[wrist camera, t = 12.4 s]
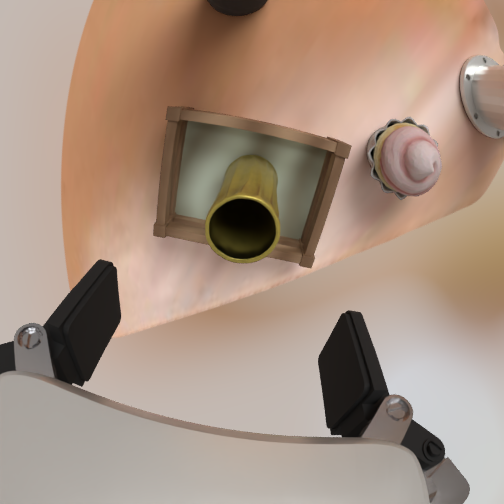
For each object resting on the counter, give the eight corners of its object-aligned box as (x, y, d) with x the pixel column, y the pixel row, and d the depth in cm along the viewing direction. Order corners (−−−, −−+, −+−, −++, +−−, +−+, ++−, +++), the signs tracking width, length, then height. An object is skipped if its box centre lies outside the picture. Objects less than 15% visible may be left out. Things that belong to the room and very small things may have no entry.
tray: (338, 140, 30) (351, 145, 25) (305, 247, 36) (311, 268, 32) (182, 106, 28) (167, 106, 24) (167, 218, 35) (153, 235, 31)
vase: (214, 185, 32) (182, 239, 20) (245, 143, 30) (231, 169, 17) (256, 214, 34) (251, 283, 21) (288, 175, 31) (305, 224, 19)
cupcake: (395, 200, 33) (432, 233, 24) (340, 160, 31) (369, 181, 22) (431, 145, 29) (479, 163, 20) (380, 99, 27) (422, 99, 18)
